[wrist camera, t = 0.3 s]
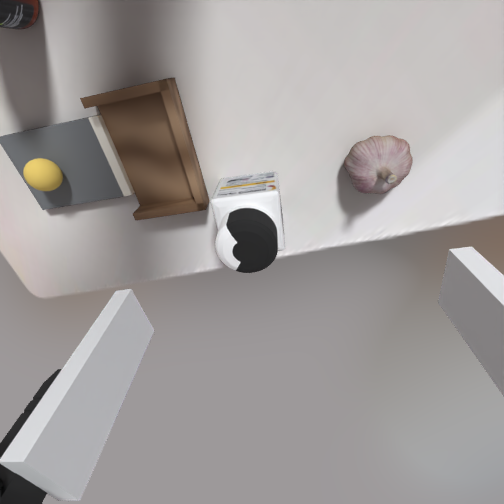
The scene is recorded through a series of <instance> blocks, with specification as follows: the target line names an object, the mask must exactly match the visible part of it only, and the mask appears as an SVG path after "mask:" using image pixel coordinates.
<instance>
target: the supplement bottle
mask: <svg viewBox="0 0 504 504" xmlns="http://www.w3.org/2000/svg"><path fill="white" fill-rule="evenodd" d="M38 10H39V6H38V0H0V27H5V28H13V29H25V28H28V27H30V26H31V25H32V24H33V23H34V22H35V20H36V19H37V16H38Z"/></svg>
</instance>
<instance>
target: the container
mask: <svg viewBox="0 0 504 504" xmlns="http://www.w3.org/2000/svg"><path fill="white" fill-rule="evenodd" d="M211 206H212V210H213V213H214V217H215V221H216V225H217V229H218V233H217V237H216V240H215V249H216V253H217V255H218V257H219V259H220V260H221V261H222V262H223V263H224V264H225V265H226V266H227V267H229V268H231V269H233V270H236V271H239V272H243V273H252V272H257V271H260V270H263V269H265V268H266V267H268V266H269V265H270V264H271V263H272V262H273V261H274V259H275V257H276V255H277V251H282V250H284V249H285V241H284V227H283V216H282V207H281V198H280V189H279V180H278V173H277V172H276V171H271V172H264V173H257V174H249V175H242V176H235V177H228V178H222V179H221V180H220V181H219V184H218V186H217V188H216V190H215V193H214V195H213V197H212V199H211Z"/></svg>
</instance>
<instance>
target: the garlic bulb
mask: <svg viewBox="0 0 504 504" xmlns="http://www.w3.org/2000/svg"><path fill="white" fill-rule="evenodd" d="M344 166H345V168H346V170H347V171H348V173H349V175H350V177H351V179H352V184H353V186H354V187H355V189H356V190H358V191H359V192H362V193H376V194H383V193H385V192H387V191H388V190H390V189H391V188H394V187H396V186H398V185H399V184H400V183H401V181H402V180H403V179H404V178H405V177H406V176H407V175H408V174H409V172H410V169H411V166H412V156H411V154H410V147H409V144H408V143H407V142H406V141H405V140H403V139H398V138H396V137H394V136H384V137H381V136H373V137H370V138H368V139H367V140H364V141H360V142H358V143H356V144H355V145H354V146H353V147H352V148H351V150H350V153H349V154H348V156H347V157H346V158H345V162H344Z"/></svg>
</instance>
